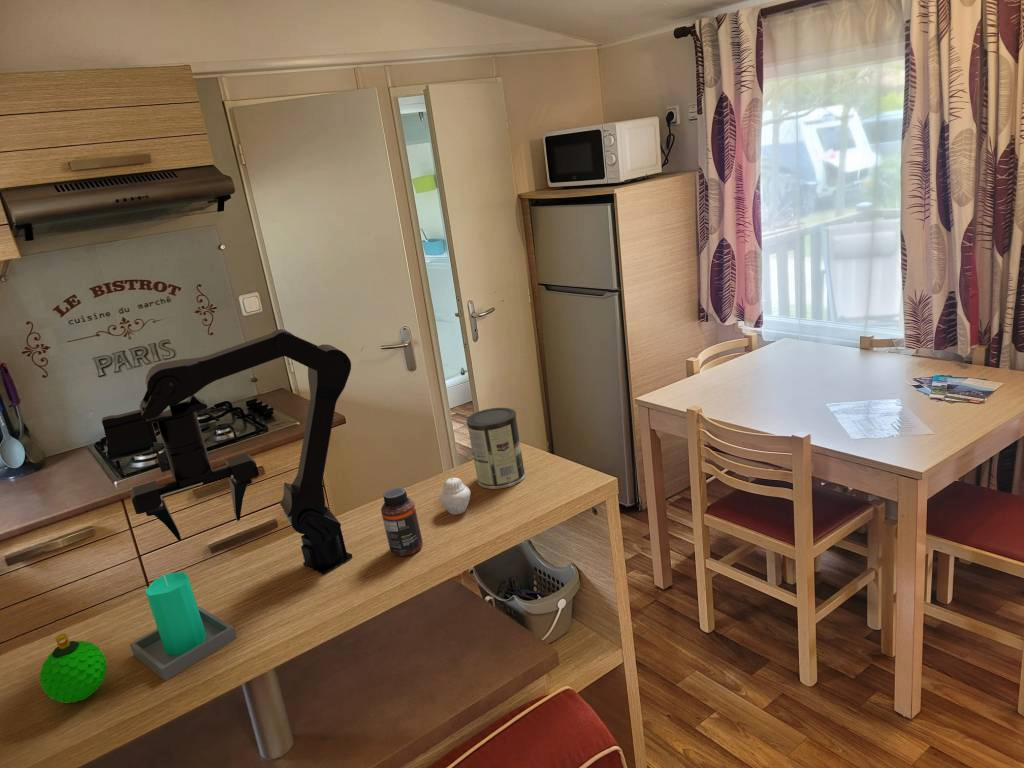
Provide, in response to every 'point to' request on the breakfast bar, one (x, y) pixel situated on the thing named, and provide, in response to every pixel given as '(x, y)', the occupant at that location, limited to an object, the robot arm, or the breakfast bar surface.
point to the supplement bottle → (401, 523)
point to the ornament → (72, 670)
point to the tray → (170, 665)
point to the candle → (176, 613)
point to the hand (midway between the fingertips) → (209, 529)
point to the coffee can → (496, 448)
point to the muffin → (455, 496)
